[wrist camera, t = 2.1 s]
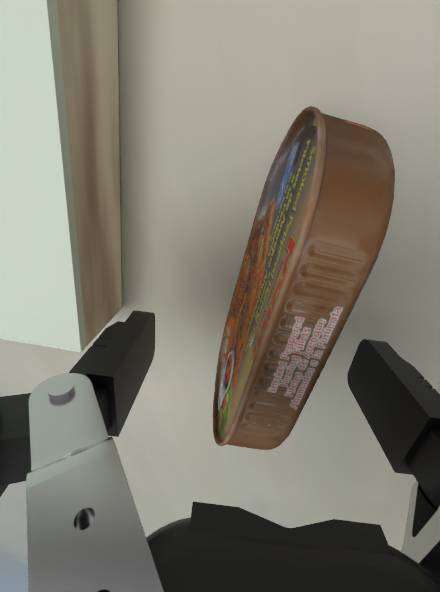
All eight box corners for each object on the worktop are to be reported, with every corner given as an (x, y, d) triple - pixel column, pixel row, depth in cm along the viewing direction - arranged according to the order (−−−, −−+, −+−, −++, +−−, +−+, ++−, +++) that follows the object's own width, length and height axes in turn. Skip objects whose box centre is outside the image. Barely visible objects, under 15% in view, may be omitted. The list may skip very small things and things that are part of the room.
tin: (280, 126, 13) (334, 55, 5) (341, 142, 13) (481, 95, 5) (214, 362, 19) (195, 484, 12) (255, 371, 19) (264, 499, 12)
